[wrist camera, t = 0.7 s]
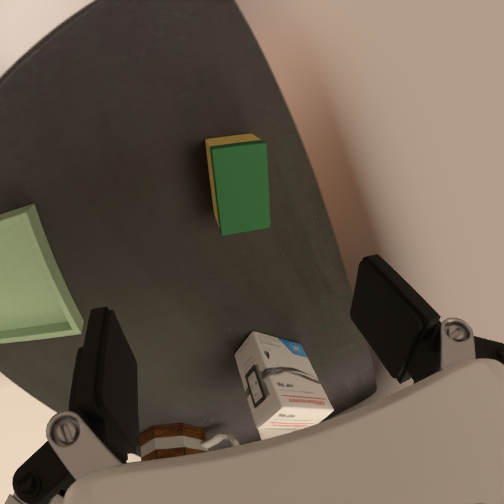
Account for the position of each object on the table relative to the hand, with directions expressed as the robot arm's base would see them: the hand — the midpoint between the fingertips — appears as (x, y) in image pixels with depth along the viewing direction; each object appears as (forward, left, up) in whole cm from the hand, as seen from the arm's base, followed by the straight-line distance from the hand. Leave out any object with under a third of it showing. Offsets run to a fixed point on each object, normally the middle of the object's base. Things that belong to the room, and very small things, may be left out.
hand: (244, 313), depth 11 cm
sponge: (+1, +3, -18) cm, 18 cm away
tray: (+7, -25, -18) cm, 32 cm away
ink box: (+25, +6, -18) cm, 31 cm away
